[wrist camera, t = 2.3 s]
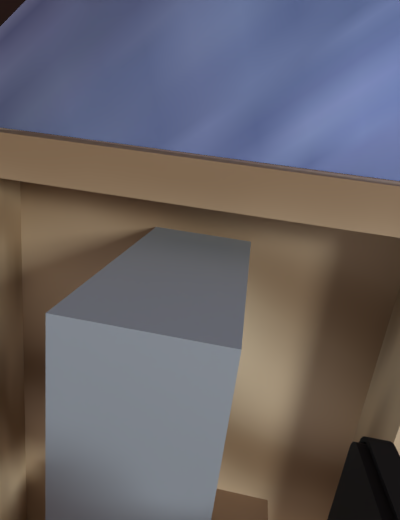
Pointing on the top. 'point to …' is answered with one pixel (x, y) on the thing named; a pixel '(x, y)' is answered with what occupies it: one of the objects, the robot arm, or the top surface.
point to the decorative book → (8, 8)
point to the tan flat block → (238, 507)
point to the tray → (256, 308)
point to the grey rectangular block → (145, 380)
